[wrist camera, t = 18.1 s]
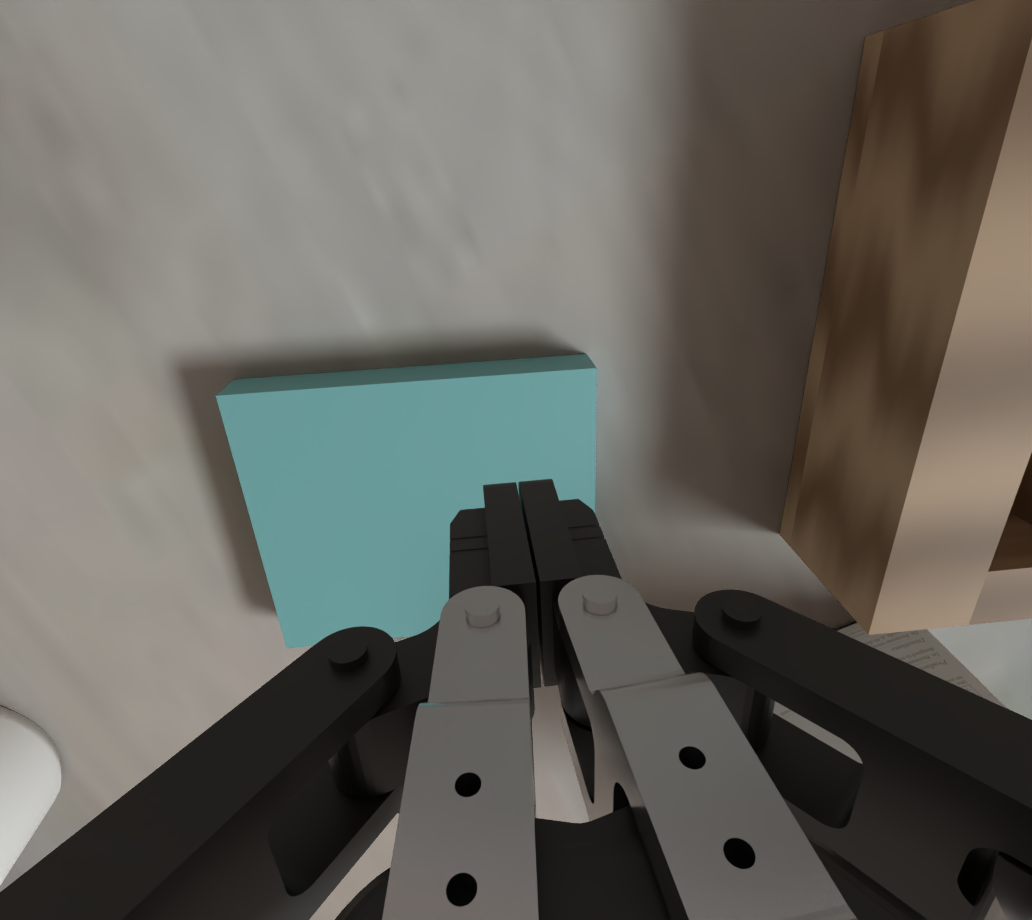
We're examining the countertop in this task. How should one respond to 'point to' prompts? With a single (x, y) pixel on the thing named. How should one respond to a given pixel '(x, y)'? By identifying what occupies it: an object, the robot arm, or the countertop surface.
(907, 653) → the supplement box
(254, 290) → the countertop surface
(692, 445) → the countertop surface
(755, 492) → the countertop surface
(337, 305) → the countertop surface
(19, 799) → the alcohol
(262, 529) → the cover plate
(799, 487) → the slot box
